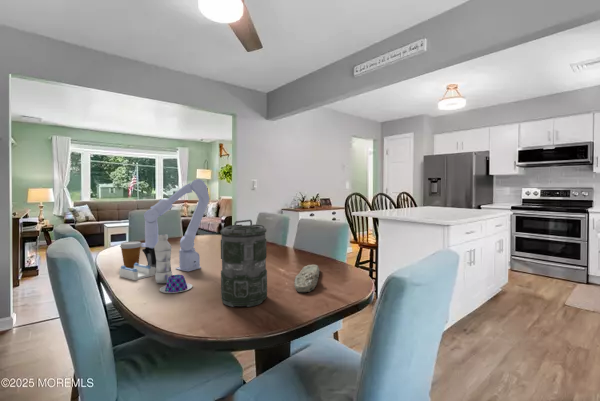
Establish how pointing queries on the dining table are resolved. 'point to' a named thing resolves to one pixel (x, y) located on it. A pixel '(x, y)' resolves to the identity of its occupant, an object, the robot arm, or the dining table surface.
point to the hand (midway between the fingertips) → (152, 263)
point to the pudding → (175, 284)
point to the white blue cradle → (137, 271)
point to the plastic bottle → (163, 259)
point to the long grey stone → (307, 278)
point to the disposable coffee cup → (130, 253)
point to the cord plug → (150, 260)
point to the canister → (243, 265)
